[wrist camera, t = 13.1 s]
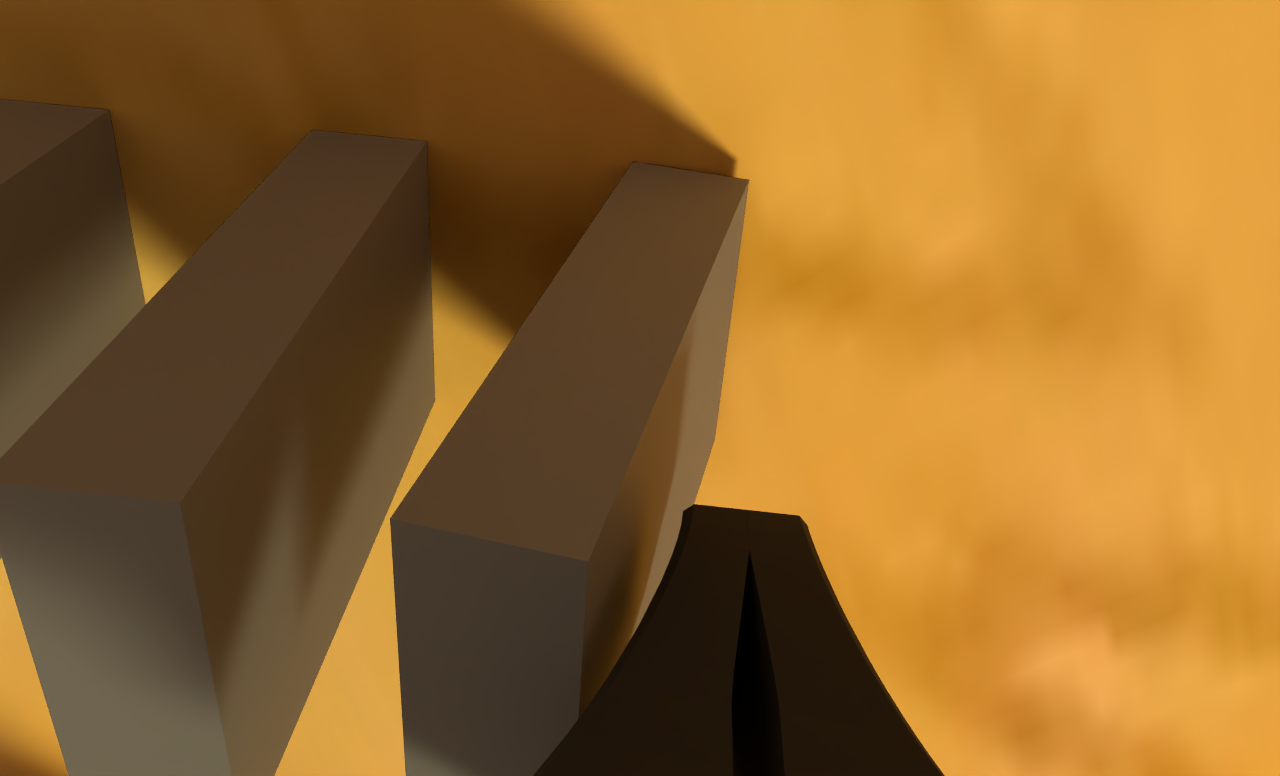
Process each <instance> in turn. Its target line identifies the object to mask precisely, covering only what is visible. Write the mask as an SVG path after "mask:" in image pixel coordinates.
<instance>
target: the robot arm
mask: <svg viewBox="0 0 1280 776" xmlns="http://www.w3.org/2000/svg"><path fill="white" fill-rule="evenodd" d="M533 776H944V774H943V773H942V771H941V770H940V769H939V767H938V766H937V765H936V763H935V762H934V761H933V759H932V758H931V757H930V755H929V754H928V752H927V751H926V750H925V748H924V747H923V745H922V744H921V742H920V741H919V739H918V738H917V736H916V735H915V734H914V732H913V731H912V729H911V727H910V726H909V724H908V723H907V721H906V720H905V718H904V717H903V715H902V714H901V712H900V711H899V709H898V707H897V706H896V704H895V702H894V701H893V699H892V698H891V696H890V694H889V693H888V691H887V690H886V688H885V686H884V685H883V683H882V681H881V680H880V678H879V676H878V675H877V673H876V671H875V669H874V668H873V666H872V664H871V662H870V661H869V659H868V657H867V655H866V653H865V651H864V650H863V648H862V646H861V644H860V642H859V640H858V638H857V636H856V635H855V633H854V631H853V629H852V627H851V625H850V623H849V621H848V620H847V618H846V616H845V614H844V612H843V610H842V608H841V606H840V604H839V601H838V599H837V597H836V595H835V593H834V591H833V589H832V586H831V584H830V582H829V580H828V578H827V575H826V573H825V571H824V568H823V566H822V564H821V561H820V559H819V556H818V554H817V552H816V549H815V546H814V544H813V541H812V538H811V535H810V533H809V530H808V526H807V524H806V523H805V522H804V521H803V520H802V518H801V517H800V516H797V515H788V514H778V513H769V512H760V511H751V510H742V509H733V508H724V507H714V506H705V505H696V504H693V505H692V506H690V507H689V508H687V509H685V510H684V511H683V515H682V522H681V527H680V531H679V535H678V538H677V542H676V545H675V548H674V550H673V553H672V556H671V558H670V561H669V563H668V566H667V568H666V570H665V573H664V575H663V578H662V580H661V582H660V584H659V586H658V588H657V590H656V592H655V594H654V596H653V598H652V600H651V602H650V604H649V606H648V608H647V610H646V612H645V614H644V616H643V618H642V620H641V622H640V624H639V626H638V627H637V629H636V631H635V633H634V634H633V636H632V638H631V639H630V641H629V643H628V644H627V646H626V648H625V649H624V651H623V653H622V654H621V656H620V658H619V659H618V661H617V662H616V664H615V666H614V667H613V669H612V671H611V672H610V674H609V676H608V677H607V679H606V680H605V682H604V683H603V685H602V686H601V688H600V689H599V691H598V692H597V694H596V695H595V696H594V698H593V699H592V701H591V702H590V704H589V705H588V706H587V708H586V709H585V711H584V712H583V713H582V715H581V716H580V717H579V719H578V720H577V721H576V723H575V724H574V725H573V727H572V728H571V729H570V731H569V732H568V733H567V735H566V736H565V737H564V739H563V740H562V741H561V742H560V743H559V745H558V746H557V747H556V748H555V750H554V751H553V752H552V753H551V754H550V756H549V757H548V758H547V759H546V760H545V762H544V763H543V764H542V765H541V767H540V768H539V769H538V770H537V771H536V773H535V774H534V775H533Z"/></svg>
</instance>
